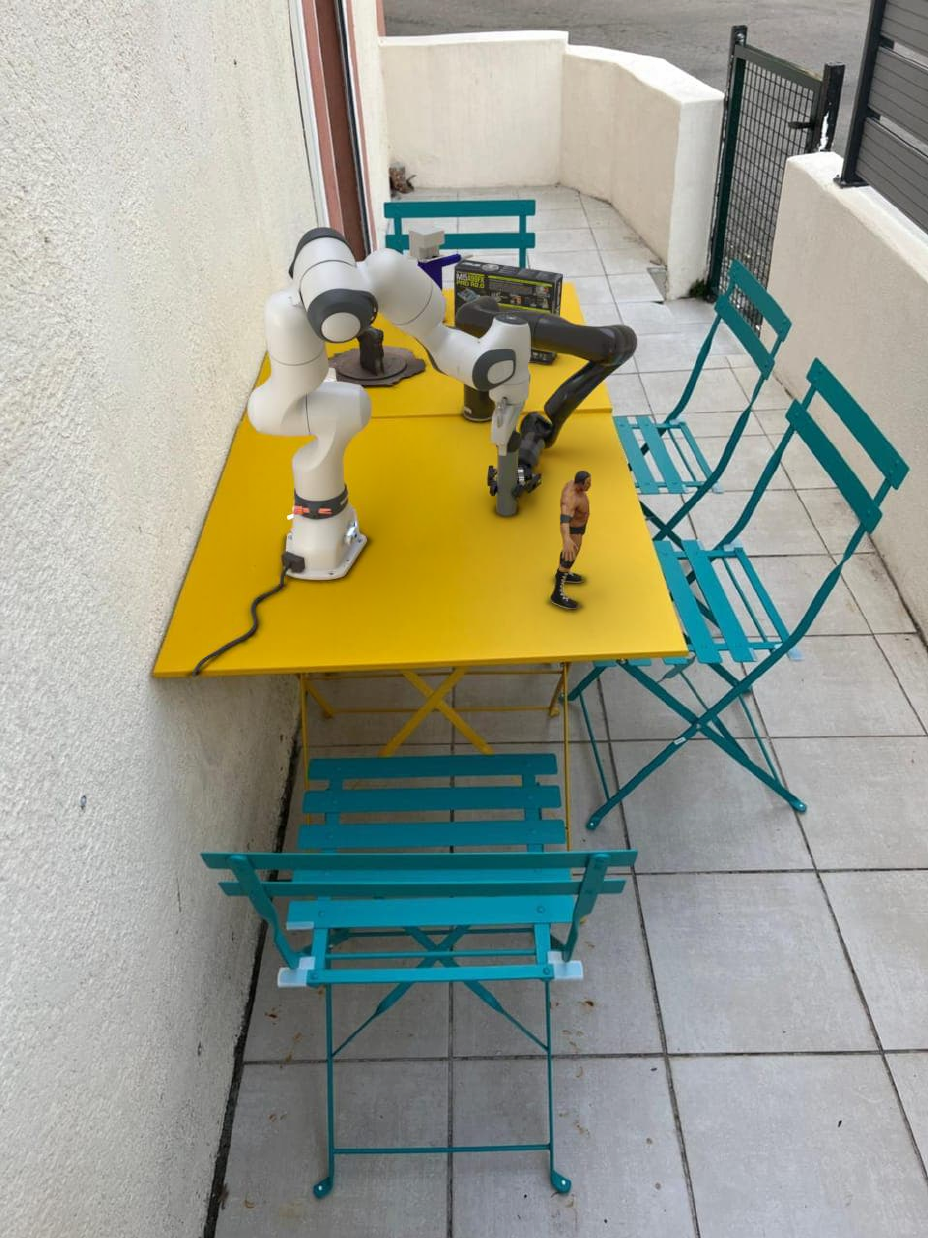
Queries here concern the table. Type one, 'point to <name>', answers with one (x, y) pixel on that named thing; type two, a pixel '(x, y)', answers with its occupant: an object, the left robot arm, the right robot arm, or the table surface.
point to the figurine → (571, 534)
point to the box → (509, 291)
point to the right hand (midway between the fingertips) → (504, 494)
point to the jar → (507, 482)
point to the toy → (431, 252)
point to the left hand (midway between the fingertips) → (507, 444)
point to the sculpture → (374, 361)
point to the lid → (514, 441)
